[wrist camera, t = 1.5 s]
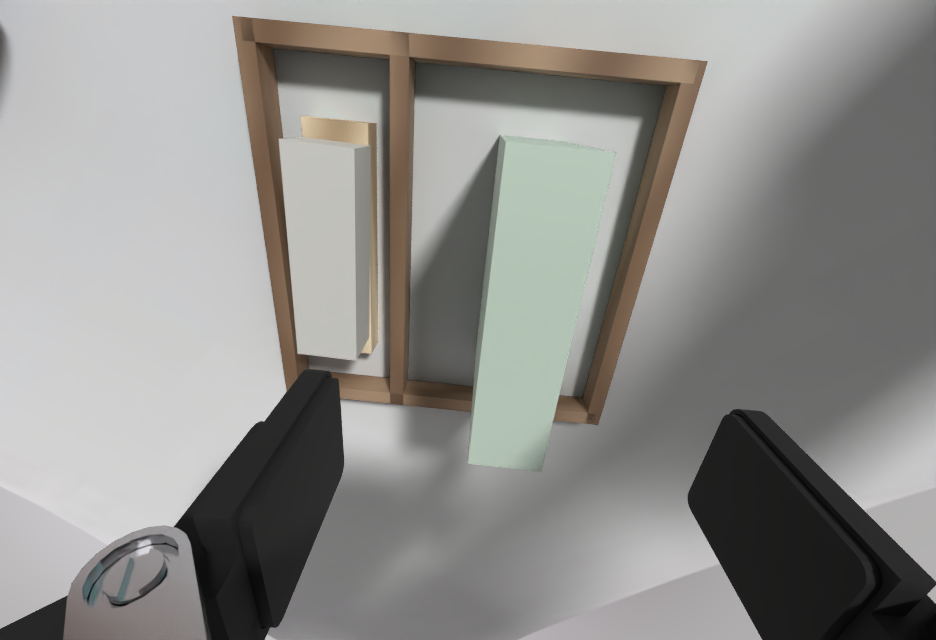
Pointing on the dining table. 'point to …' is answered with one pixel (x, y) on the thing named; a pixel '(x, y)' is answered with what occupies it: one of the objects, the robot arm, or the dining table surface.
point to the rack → (403, 52)
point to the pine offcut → (368, 136)
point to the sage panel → (532, 292)
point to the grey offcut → (328, 243)
